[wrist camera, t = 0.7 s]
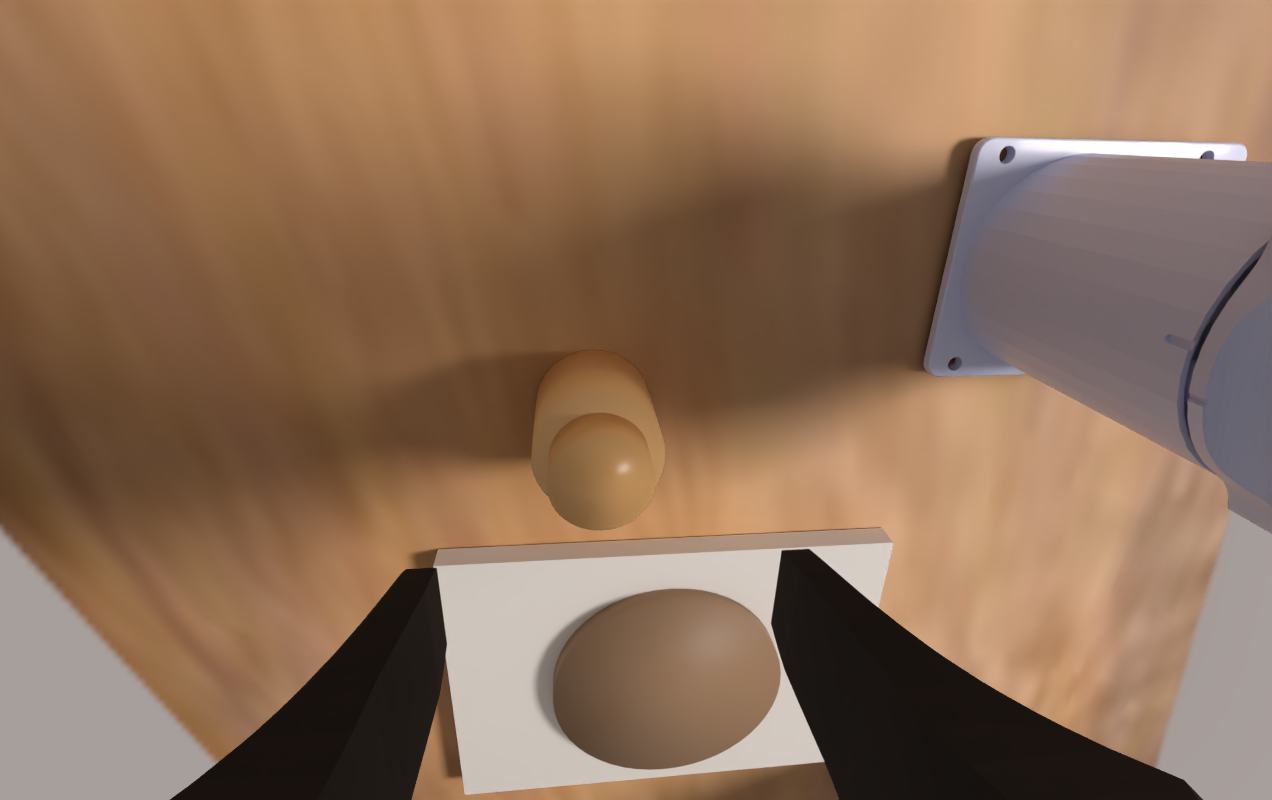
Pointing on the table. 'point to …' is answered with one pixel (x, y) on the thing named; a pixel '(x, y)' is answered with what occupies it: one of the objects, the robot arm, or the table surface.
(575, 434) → the stepped tan cylinder
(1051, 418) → the table surface
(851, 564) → the plinth
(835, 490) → the table surface
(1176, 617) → the table surface
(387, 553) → the table surface
